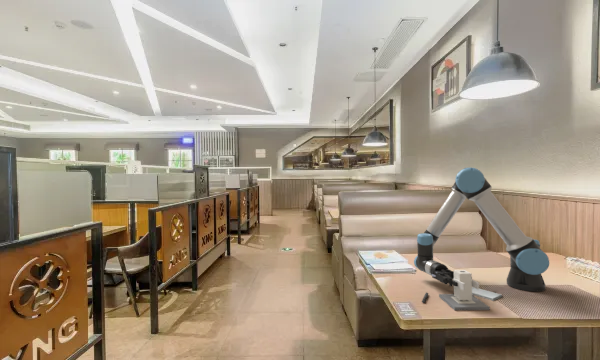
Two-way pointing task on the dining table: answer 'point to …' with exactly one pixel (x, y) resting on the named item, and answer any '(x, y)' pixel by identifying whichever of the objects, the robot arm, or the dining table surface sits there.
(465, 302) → the plate
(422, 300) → the dark grey rod
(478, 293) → the hard drive
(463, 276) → the charger brick
